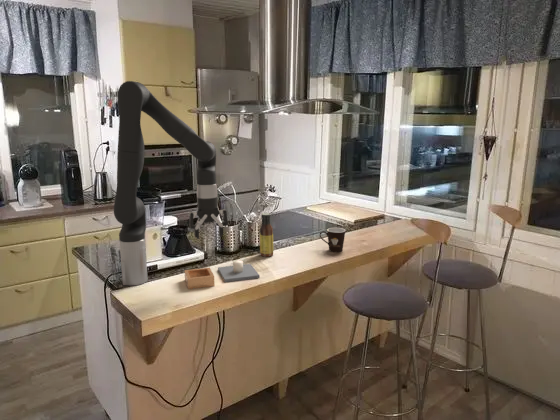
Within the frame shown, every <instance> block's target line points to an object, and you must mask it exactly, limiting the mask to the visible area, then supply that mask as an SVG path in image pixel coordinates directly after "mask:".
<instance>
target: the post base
mask: <svg viewBox="0 0 560 420" xmlns="http://www.w3.org/2000/svg"><path fill="white" fill-rule="evenodd" d="M232 264H233V265H228V266H218V267H217V271H218V272H219V275H220V276H221V278H222V279H224V280H223V282H224V283H230V282H238V281H246V280H254V279H260V274H259V273H258V271H257V270H256V268H254V266H253V265H252V264H251V263H247V264H246V263H244V261H243V260H239V259H237V260H234V261H232Z"/></svg>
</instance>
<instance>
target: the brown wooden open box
mask: <svg viewBox="0 0 560 420" xmlns="http://www.w3.org/2000/svg"><path fill="white" fill-rule="evenodd" d="M184 281H185V284H186V286H187V290H194V289H193V288H195V289H201V288H202V289H203V288H210V287H215V275H214V273H213V271H212V269H211V268H210V267H204V268H202V267H201V268H193V269H185V270H184Z"/></svg>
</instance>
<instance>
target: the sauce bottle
mask: <svg viewBox="0 0 560 420" xmlns="http://www.w3.org/2000/svg"><path fill="white" fill-rule="evenodd" d="M260 215H261V225H260V229H259V252H260V255H261V256H262V257H265V258H269V257H272V256H273V255H274V252H275V251H274V228H273V226H272V224H271V213H269V212H263V213H261V214H260Z"/></svg>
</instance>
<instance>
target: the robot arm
mask: <svg viewBox="0 0 560 420" xmlns="http://www.w3.org/2000/svg"><path fill="white" fill-rule="evenodd" d="M117 104H118V118H119V119H118V122H119V124H118V137H117V156H116V157H117V158H116V160H117V161H116V162H117V163H116V164H117V167H116V190H115V197H114V204H113V215H114V218H115V219H116V221H117V222H118V223H120V224H121V229H120V231H119V233H118V239H119V250H120V251H119V253H120V267H121V279H122V285H123V286H131V287H132V286H139V285H143V284H145V283H147V282H148V280H149V279H148V277H149V276H148V266H147V253H146V238H145V237H146V235H145V234H146V229H147V226H146V225H147V216H146V213H147V212H146V207H145V204H144V202H143V201H142V199H141V198H139V197H137V189H138V184H139V182H140V181H139V180H140V177H141V175H142V172H143V168H144V163H145V141H144V137H143V132H142V126H141V117H142V112H143V113H144V114H145V115H148V116H149V117H150V118H151V119H152V120H153V121H155V122H156V123H157V124H158V125H159V127H160V128H161V129H162V130H163V131H165V133H166V134H167V135H169V136H170V137H171V138H172V139H173V140H175V141H176V142H177V143H178V144H180V145H181V146H183V147H184V148H185V149H186V150H187V151H188V153H190V154H191V155H192V156H193V157H194V158H195V159H196V160H197V170H196V185H197V186H196V199H197V200H196V201H197V203H196V204H197V211H189V212H188V213H189V215H188V217H189V218H188V219H189V220H188V221H189V223H188V225H189V228H190V229H193V231H194V237H195V238H196V239H197V240H199V239H200V229H199V228H200V227H201V226H202V225H203V224H208V223H214V222H215V223H216V224H217V225H218V228H217V229H218V237H219V238H220V237H222V236H223V235H224V227H225V226H228V223H229V222H228V221H229V220H228V213H227V212H228V211H227V210H226V209H225V208H223V209H220V210H219V201H218V199H219V198H218V197H219V196H218V187H217V172H216V164H217V150H216V147H215V146H216V145H214V144H213V143H212V142H211V141H208V140H207V141H206V140H205V139H203V138H201V136H199V135H198V134H197V132H196V131H195V130H194V129H193V128H192V127H190V126H189V125H188V124H187V123H186V122H185V121H184V120H183V119H181V118H179V117H178V116H177V115H176V114H175V113H173V112H172V111H170V110H169V109H168V108H167V107H166V106H164V105H163V104H162V103H161V102H160V101H159V100H158V99H157V98H156V97H155V95H153V93H152V92H151V91H150V90H149V89H148V87H146V86H145V85H144V84H143V83H141V82H138V81H133V80H128V81H125V82H122V84H120V86H119V87H118V91H117ZM219 215H221V216H222V222H221V221H220V220H219V219H218V216H219ZM196 217H198V219H197V220H196V223H195V224H194V219H195V218H196Z"/></svg>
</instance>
